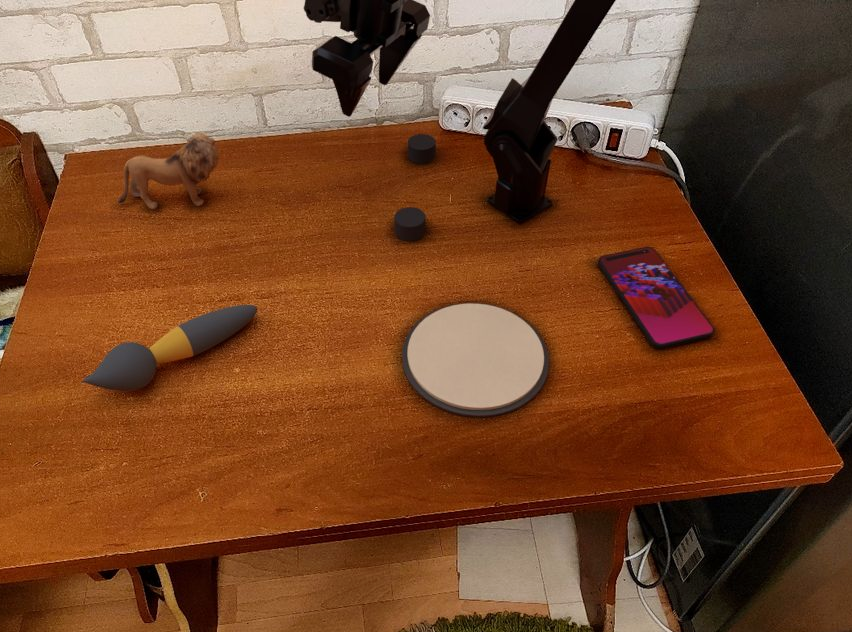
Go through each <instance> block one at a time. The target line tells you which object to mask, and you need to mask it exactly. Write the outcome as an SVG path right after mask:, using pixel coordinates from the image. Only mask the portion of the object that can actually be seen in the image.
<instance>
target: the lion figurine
mask: <svg viewBox="0 0 852 632" xmlns="http://www.w3.org/2000/svg"><path fill="white" fill-rule="evenodd" d="M219 159H220V153H219V151H218V147H217V145H216V143H215V139H214V138H213V137H210V136H209V135H206V134H205V133H203V132H200V133H195V134H193V135H191V136H189V137H188V140H187V142H186V143H185V144H184V145H183V146H182V147H181V148H179V150H176V151H175V152H174V153H173V154H172V155H171V156H170V157H166V158H153V157H150V156H147V155H137V156H134V157H131V158H130V159H128V160H127V161H126V162H125V164H124V167H123V185H124V186H123V187H124V188H123V189H124V190H123V194H122V195H121V196H120V197H119V199H118V200H117V204H124V203H125V202H126V200H127V198H128V194H129V188H130V193H131V195H132V196H133V197H135V198H138V197H140V198H141V200H143V202H144V203H145V204H146V206H147V207H148V208H149V209H150V210H157V209H158V208H159V204H158V202H156V201H152V200H151V199H150V198H149V195H148V190H149V180H150V181H153V182H156V183H158V184H160V185H164V186H179V185H182V186H183V187H185V189H186V191H187V193H188V194H189V197H190V200H191V201H192V203H193V204H194V205H195V206H197V207H201V206H203V205H204V200H203V199H202V198H200V197H199V196H198V195H200V194H201V193H202V189H201V187H197V184H200V183H202V182H206V181H208V180H209V178H210V175H211V173H212V172H213V171H214V169H215V168H216V167H218V163H219ZM130 176H131V179H129V178H130ZM137 188H138V189H137Z"/></svg>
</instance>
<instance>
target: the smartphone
mask: <svg viewBox="0 0 852 632" xmlns="http://www.w3.org/2000/svg"><path fill="white" fill-rule="evenodd" d="M597 266H598V267H599V269H600V270H601V271H602V273H603V275H604V277H605V278H606V279H607V281H608V282H609V284H610V285H611V287H612V288H613V290H614V292H615V293H616V294H617V297H619V299H620V300H621V302H622V303H623V305H624V306H625V308H626V309H627V311H628V312H629V314H630V315H631V317H632V319H633V320H634V322H635V323H636V324H637V326H638V328H639V329H640V330H641V332H642V334H643V335H644V336H645V338H646V339H647V341H648V342H649V344H650V345H651V346H652V347H653V348H655V349H656V350H657V349H658V350H663V349H668V348H672V347H675V346H681V345H684V344H688V343H689V344H690V343H693V342H697V341H702V340H707V339H709V338H712V337H713V336H714V334H715V330H716V329H715V327H714V326H713V324H712V323H711V322H710V321H709V319H708V317H706V315H705V313H704V312H703V311H702V310H701V308H700V307H699V306H698V304H697V303H696V302H695V300H694V299H693V297H692V296H691V295H690V294H689V293H688V291H687V290H686V289H685V287H684V286H683V285H682V283H681V282H680V280H679V279H678V278H677V276H676V275H675V274H674V273H673V272H672V270H671V269H670V267H669V265H667V263H666V262H665V261H664V259H663V258H662V257H661V255H660V254H659V253H658V252H657V250H656V249H655V248H653V247H651V246H643V247H638V248H634V249H627V250H623V251H619V252H614V253H610V254H603V255H600V256H599V258H598V259H597Z"/></svg>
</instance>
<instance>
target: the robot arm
mask: <svg viewBox="0 0 852 632" xmlns="http://www.w3.org/2000/svg"><path fill="white" fill-rule="evenodd" d="M616 1H617V0H574V1H573V2H572V4H571V5H570V7H569V8H568V11H567V12H566V14H565V16H564V17H563V19H562V20H561V23H560V24H559V26H558V28H557V29H556V31H555V32H554V34H553V37H552V38H551V39H550V41H549V43H548V44H547V46H546V48H545V50H544V51H543V53H542V55H541V56H540V58H539V60H538V61H537V63H536V65H535V66H534V69H533V70H532V72H531V74H529V76H528V77H527V78H526V79H525V80H523V82H522V83H521V84H520V82H519V81H517V80H516V79H515V78H513V77H512V78H511V79H510V81H509V82H508V84H507V85H506V87H505V89H504V91H503V92H502V93H501V95H500V97H499V99H498V101H497V103H496V104H495V107H494V108H493V109H492V111H491V113H490V115H489V116H488V118H487V120H486V121H485V123H484V125H483V126H482V129H483V130H487V131H486V133H485V134H484V138H483V145H484V146H485V148H486V151H487V153H488V154H489V155H490V157H492V160H493V164H494V167H495V170H496V174H497V180H496V182H495V191H494V193H492V194H491V195H489V196H487V197H486V202H487V203H488V204H489V205H491V206H493V208H496V209H497V210H499V211H500V212H501V213H502V214H504V215H506V216H507V217H508V218H510V219H511V220H513V221H514V222H516V223H517V224H523V223H525V222H527V221H528V220H530V219H531V218H534V217H535V216H537V215H539V214H540V213H542V212H544V211H546V210H547V209H549V208H551V207H552V206H553V203H554V201H553V200H552V199H551V198H549V197H548V196H546V190H547V186H548V180H549V179H548V178H549V173H550V168H551V163H552V161H551V159H550V157H551V155H552V153H553V151H554V149H555V147H556V144H557V142H558V141H559V139H558V136H557V135H556V134H555V133H554V131H553V130H552V129H551V128H550V126H549V125H548V124H547V122H546V121H545V120H546V119H547V115H548V113H549V110H550V108H551V105H552V102H553V99H554V97H555V96H556V94H557V93H558V91H559V89H560V88H561V86H562V85H563V83H564V82H565V80H566V79H567V77H568V76H569V74H570V72H571V71H572V69H573V67H574V66H575V64H576V63H577V62H578V60H579V58H580V57H581V55H582V54H583V52H584V50H585V49H586V47H587V46H588V45H589V43H590V42H591V40H592V38H593V36H594V35H595V33H596V32H597V31H598V29H599V28H600V26H601V24H602V22H603V21H604V20H605V18H606V16H607V15H608V13H609V12H610V10H611V9H612V7H613V5H614V4H615V3H616ZM303 11H304V12H305V16H306V18H307V19H308V20H309V21H311V22H314V23H317V24H321V23H322V22H325V23H326V22H327V23H340V25H339V30H342V31H344V32H346V33H350V32H351V33H353V36H354V38H356V39H355V40H354V41H352V42H350V41H348V40H345V39H344V38H342V37H339V36H337V35H334V36H333V37H331V38H329V39H328V40H326V41H325V42H324V43H322V44H321V45H319V46H318V47H317V48H315V49H314V50H312V53H311V69H312V71H313V72H315V73H318V74H320V75H322V76H324V77H326V78H328V79H330V80H332V83H333V86H334V88H335V91H336V94H337V98H338V102H339V106H340V110H341V113H342V114H343V115H345V116H346V117H349V118H350V117H351V116H352V115H353V113H354V112H355V110H356V109H357V106H358V105H359V103H360V101H361V99H362V97H363V95H364V93H365V91H366V90H367V87H368V86H369V84H370V82H371V81H372V76H370V75H371V73H372V71H373V67H374V59H373V58H372V57H371V56H372V55H374V54H375V53H376V52H378V51H379V58H378V59H379V60H378V82H379V84H381V85H382V86H387V85H388V84H389V82H390V81H391V80H392V78H393V77H394V75H395V74H396V73H397V72H398V69H399V68H400V67H401V65H402V64H403V63H404V61H405V60H406V59H407V57H408V55H409V54H410V53H411V51H412V50H413V49H414V47H415V46H416V45H417V43H418V42H419V41H420V40H421V38H422V36H423V34H424V33H425V32H427V30H428V27H429V24H430V18H431V14H430V12H429V10H428V9H427V5H425V4H423V3H421V2H419V1H417V0H304V5H303Z"/></svg>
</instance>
